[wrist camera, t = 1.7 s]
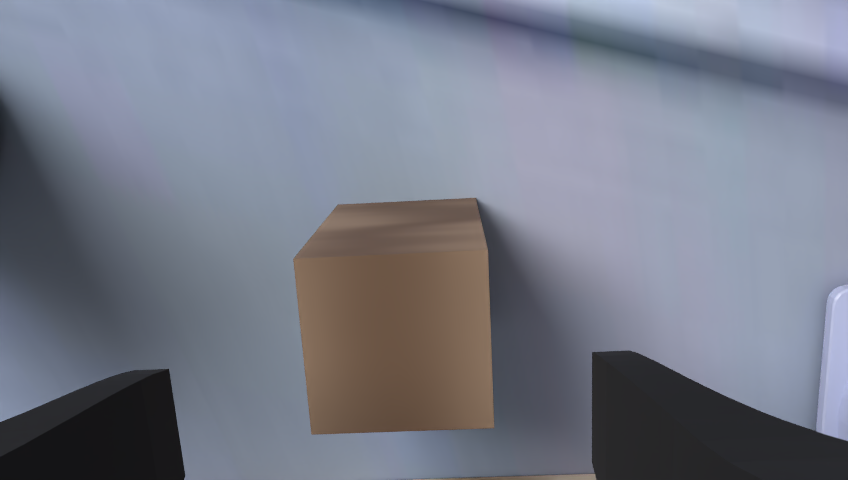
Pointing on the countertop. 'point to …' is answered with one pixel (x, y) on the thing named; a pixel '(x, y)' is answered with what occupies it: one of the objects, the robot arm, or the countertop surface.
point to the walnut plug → (397, 318)
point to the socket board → (530, 477)
